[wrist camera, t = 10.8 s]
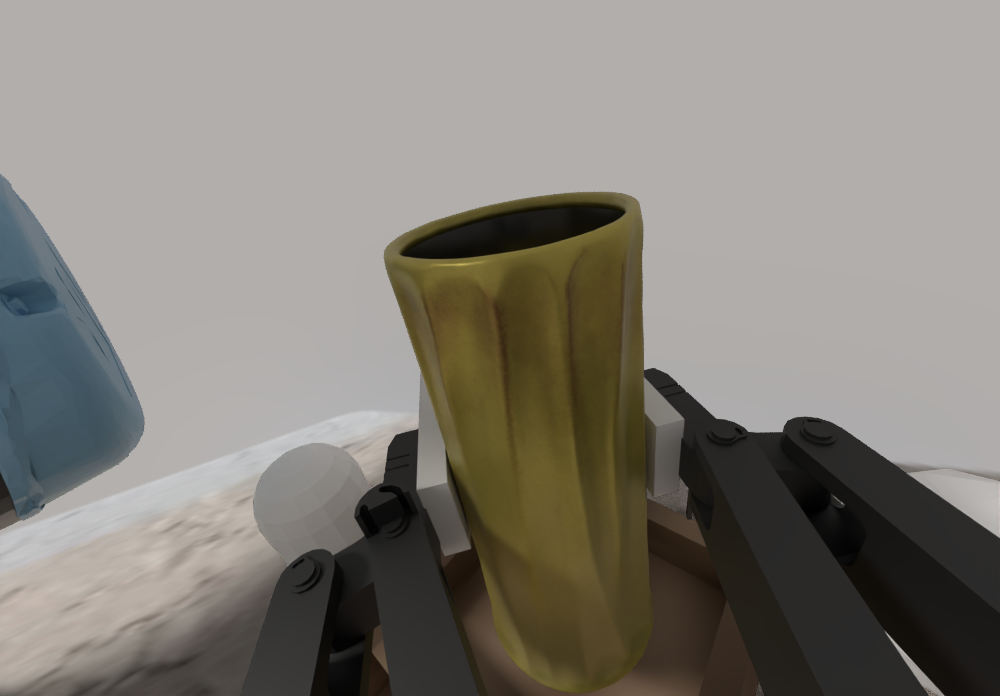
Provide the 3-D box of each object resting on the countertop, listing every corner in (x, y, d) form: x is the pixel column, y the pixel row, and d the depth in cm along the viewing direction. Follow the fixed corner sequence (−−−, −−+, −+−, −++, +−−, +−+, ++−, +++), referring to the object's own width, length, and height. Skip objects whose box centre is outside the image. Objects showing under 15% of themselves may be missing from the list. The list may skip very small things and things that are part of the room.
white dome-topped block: (325, 518, 25) (268, 429, 21) (401, 508, 25) (358, 416, 21) (286, 604, 20) (204, 512, 16) (379, 595, 20) (317, 497, 16)
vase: (619, 512, 17) (609, 177, 10) (686, 682, 12) (759, 216, 5) (489, 534, 17) (392, 221, 10) (495, 710, 12) (302, 304, 5)
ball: (838, 626, 18) (774, 460, 19) (1106, 635, 14) (1006, 426, 15) (918, 801, 11) (811, 528, 12) (1474, 908, 7) (1248, 498, 8)
